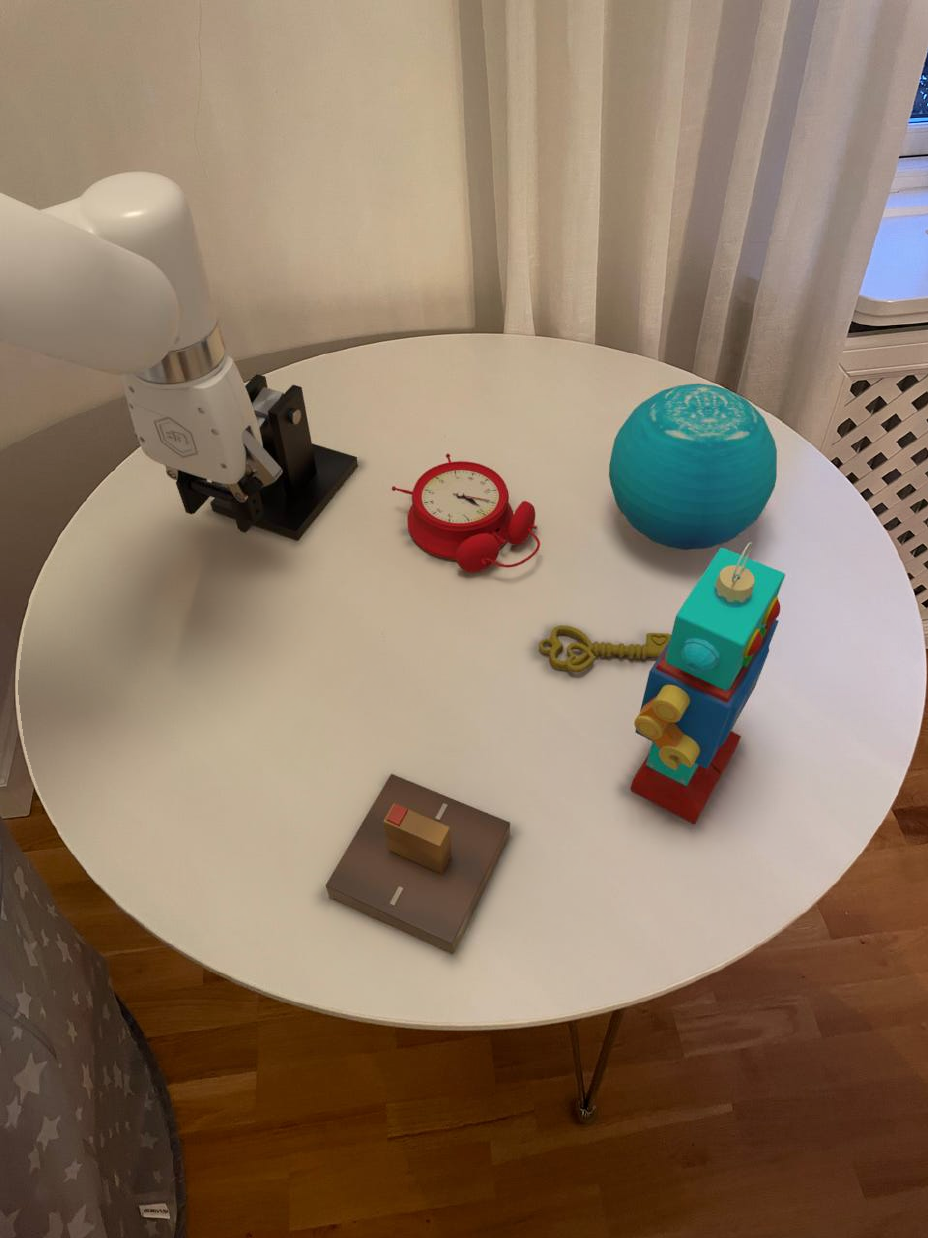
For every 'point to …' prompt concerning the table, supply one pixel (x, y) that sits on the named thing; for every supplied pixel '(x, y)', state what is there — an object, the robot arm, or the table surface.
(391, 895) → the plate
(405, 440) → the table surface
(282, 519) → the black handle mount
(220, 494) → the door lever
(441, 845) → the thumbturn
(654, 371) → the table surface
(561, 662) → the key
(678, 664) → the toy robot
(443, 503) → the alarm clock
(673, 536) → the decorative orb
